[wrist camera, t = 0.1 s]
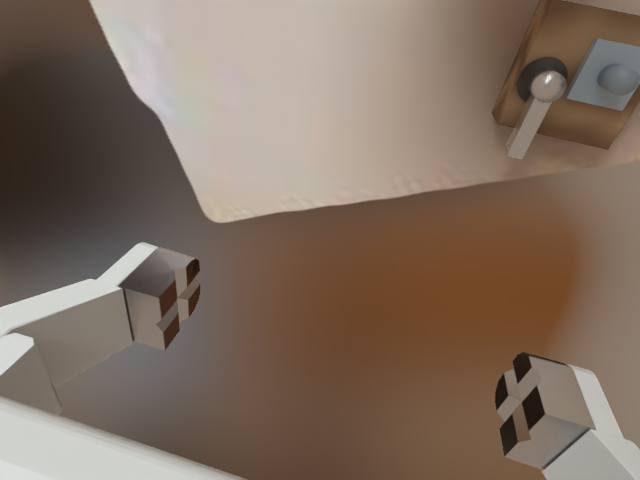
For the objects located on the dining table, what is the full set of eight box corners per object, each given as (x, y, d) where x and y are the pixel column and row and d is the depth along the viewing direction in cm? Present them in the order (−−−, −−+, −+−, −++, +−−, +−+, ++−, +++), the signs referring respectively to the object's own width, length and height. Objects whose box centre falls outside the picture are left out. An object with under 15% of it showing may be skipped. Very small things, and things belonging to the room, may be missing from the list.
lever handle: (535, 64, 41) (542, 69, 39) (563, 71, 41) (572, 76, 39) (497, 146, 47) (501, 155, 44) (522, 152, 46) (527, 161, 44)
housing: (541, -3, 42) (553, -2, 38) (662, 21, 41) (689, 25, 37) (491, 112, 50) (498, 124, 46) (592, 136, 49) (608, 150, 44)
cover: (594, 37, 39) (612, 42, 36) (654, 50, 39) (678, 56, 35) (563, 96, 43) (576, 106, 39) (618, 108, 42) (636, 120, 39)
